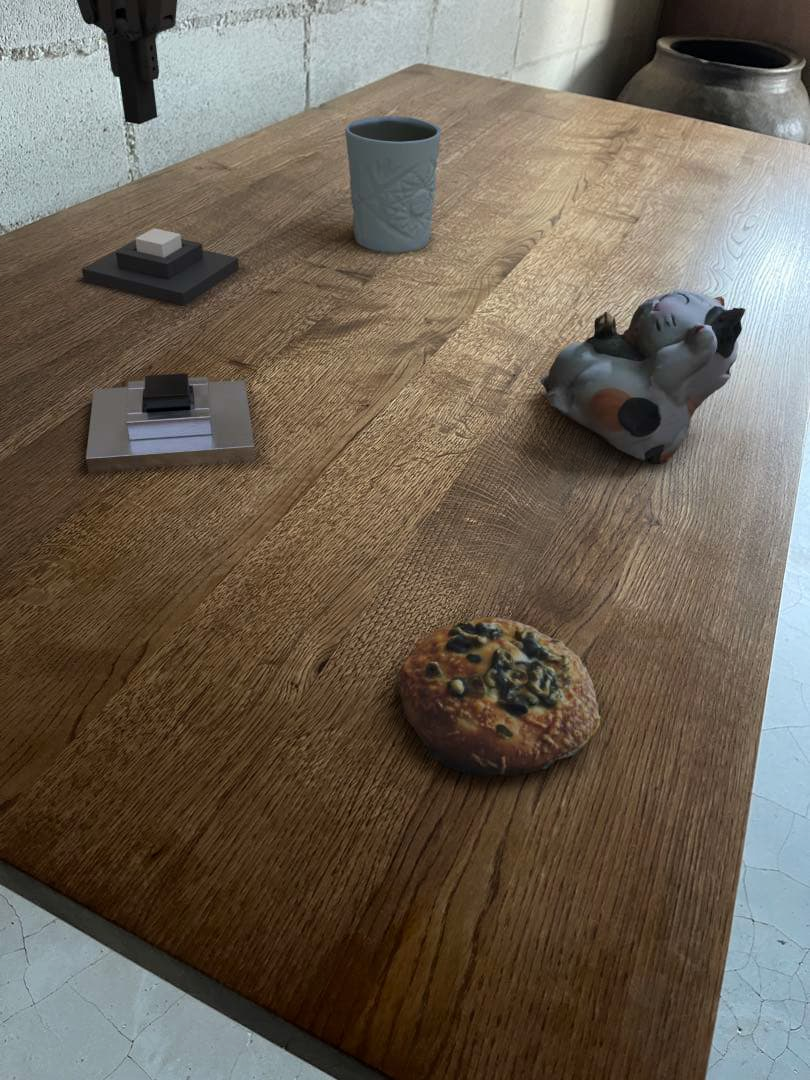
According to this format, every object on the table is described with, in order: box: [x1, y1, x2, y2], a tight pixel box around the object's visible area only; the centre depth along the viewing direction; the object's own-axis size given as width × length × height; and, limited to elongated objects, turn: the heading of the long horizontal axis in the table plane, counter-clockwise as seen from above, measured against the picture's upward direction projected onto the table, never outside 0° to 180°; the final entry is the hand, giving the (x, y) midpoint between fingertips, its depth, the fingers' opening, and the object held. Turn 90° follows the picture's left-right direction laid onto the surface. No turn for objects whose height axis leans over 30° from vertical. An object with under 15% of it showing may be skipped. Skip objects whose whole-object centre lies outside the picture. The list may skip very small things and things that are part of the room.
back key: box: [134, 227, 182, 258], centre depth 92 cm, size 3×3×2 cm
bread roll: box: [398, 617, 602, 778], centre depth 50 cm, size 11×11×5 cm
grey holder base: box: [85, 376, 256, 474], centre depth 71 cm, size 12×10×3 cm
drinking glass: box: [344, 115, 442, 254], centre depth 101 cm, size 10×10×12 cm
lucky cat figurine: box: [539, 288, 746, 464], centre depth 72 cm, size 15×12×14 cm
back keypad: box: [81, 238, 240, 306], centre depth 93 cm, size 12×10×3 cm
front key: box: [144, 372, 191, 413], centre depth 70 cm, size 3×3×2 cm
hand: (141, 119), depth 80 cm, fingers closed
